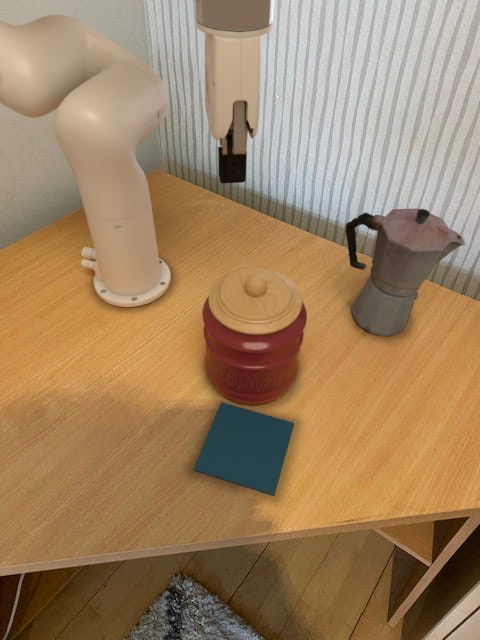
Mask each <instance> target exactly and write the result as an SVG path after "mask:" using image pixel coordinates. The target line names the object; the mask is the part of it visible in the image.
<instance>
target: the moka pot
mask: <svg viewBox="0 0 480 640" xmlns="http://www.w3.org/2000/svg"><path fill="white" fill-rule="evenodd" d="M361 225H363V226H366V227H367V228H368V229H369V230H372V231H375V232H376V231H377V234H376V240H375V244H374V250H373V256H372V259H371V264H372V266H371V268H370V274H369V276H368V278H366V281H365V283H364V284H363V285H362V286H363V287H362V288H361V290H360V292H359V294H358V295H357V296H356V299H355V300H354V302H353V304H352V306H351V308H350V310H351V314H352V317H353V319H354V320H355V322H356V324H358V325H359V326H360V327H361V328H363V329H364V330H365V331H367V332H369V333H371V334H373V335H376V336H382V337H393V336H396V335H398V334H399V335H400V333H402V332H404V331H405V329H406V326H407V325H408V322H409V320H410V317H411V315H412V312H413V311H412V310H413V308H414V304H415V301H416V300H417V299H418V298H419V293H418V291H419V289H420V288H421V286H422V285H423V283H424V282H425V281H426V279H428V277H429V275H430V274H431V272H432V271H433V269H434V268H435V267H436V265H437V264H438V263H439V262H441V261H442V260H443V259H445V258H446V257H447V256H449V255H450V254H451V253H452V252H454V251H455V250H456V249H458V248H459V247H461V246H466V241H465V239H464V237H463V236H462V235H461V234H460V233H459V232H457V231H455V230H453V229H451V228H449V226H448V225H447V223H446V222H445V220H444V219H443V218H441V217H439V216H437V215H434V214H432V213H430V211H429V210H427V209H425V208H393V209H392V210H390V211H389V212H388V213H387V214H386V215H385V216H384V215H381V214H374V215H373V214H371V213H368V212H363V213H362V214H359V215H358V216H357V217H354V218H353V219H352V220H351V221H349V222H347V223H346V224H345V237H346V242H347V243H346V244H347V250H348V257H349V266H350V267H351V268H353V269H358V270H362V271H364V270H365V269H367V267H368V265H367V264H366V263H364V262H359V261H358V256H357V239H356V238H357V235H356V234H357V233H356V229H357V227H358V226H361Z"/></svg>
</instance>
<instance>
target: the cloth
mask: <svg viewBox="0 0 480 640" xmlns="http://www.w3.org/2000/svg"><path fill="white" fill-rule="evenodd" d="M294 426H295V422H292V421H289V420H286V419H282V418H278V417H275V416H271V415H268V414H265V413H261V412H257V411H254V410H251V409H247V408H244V407H240V406H237V405H233V404H231V403H226V402H222V401H221V402H220V404H219V407H218V409H217V412H216V414H215V417H214V419H213V421H212V424H211V426H210V429H209V431H208V433H207V436H206V438H205V441H204V443H203V446H202V448H201V451H200V453H199V455H198V458H197V461H196V462H195V466H194V468H193V471H194V472H197V473H200V474H204V475H206V476H210V477H213V478H215V479H219V480H222V481H225V482H228V483H231V484H235V485H237V486H240V487H244V488H247V489H250V490H253V491H256V492H259V493H263V494H266V495H269V496H272V497H275V496H276V492H277V487H278V484H279V480H280V477H281V472H282V469H283V467H284V466H283V465H284V463H285V459H286V456H287V455H286V454H287V451H288V448H289V445H290V440H291V437H292V433H293V430H294Z"/></svg>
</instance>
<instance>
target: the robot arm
mask: <svg viewBox="0 0 480 640" xmlns="http://www.w3.org/2000/svg"><path fill="white" fill-rule="evenodd" d="M194 1H195V22H196V23H195V25H196V28H197V29H198V30H199V31H201V32H202V33H204V34H205V38H204V39H205V40H204V41H205V42H204V44H205V45H204V73H205V75H204V77H205V78H204V80H205V81H204V83H205V84H204V89H205V90H204V96H205V97H204V106H205V112H206V113H205V114H206V118H207V122H208V123H207V124H208V126H209V131H210V134H211V135H210V136H212V138H213V139H214V140H216V141H219V146H218V147H217V150H218V151H217V152H218V153H217V154H218V156H217V157H218V159H217V160H218V161H217V162H218V163H217V164H218V166H217V167H218V172H217V173H218V179H219V182H220V184H222V185H223V184H238V183H240V184H241V183H244V182H246V180H247V161H248V160H247V159H248V158H247V157H248V151H247V148H248V147H247V145H248V135H249V137H250V138H251V139H254V138H255V137H256V136H257V135H258V132H259V131H258V130H259V122H260V121H259V120H260V108H261V107H260V105H261V89H262V88H261V83H262V61H263V57H262V45H263V43H262V41H263V35H266V34H268V33H270V32H271V31H272V30H273V27H274V26H273V25H274V14H275V13H274V10H275V0H194ZM0 104H1V105H3V106H5V107H6V108H8V109H10V110H12V111H13V112H15V113H17V114H19V115H21V116H24V117H27V118H33V119H35V118H40V117H44V116H45V115H49V114H50V113H52V112H54V111H55V110H56V112H55V114H54V115H55V116H54V121H53V127H54V128H53V129H54V133H55V137H56V140H57V143H58V145H59V147H60V149H61V151H62V154H63V155H64V157H65V159H66V161H67V163H68V166H69V168H70V170H71V172H72V175H73V177H74V180H75V183H76V186H77V190H78V192H79V196H80V201H81V204H82V207H83V210H84V214H85V219H86V223H87V226H88V228H89V233H90V237H91V241H92V245H93V247H89V246H84V247H82V249H81V253H80V254H81V257H82V259H81V261H80V266H81V267H82V268H85V269H92V271H93V272H94V275H93V276H94V277H93V287H94V291H95V292H96V294H97V296H98V297H99V299H101V300H102V301H104V302H105V303H107V304H109V305H111V306H115V307H120V308H121V307H122V308H135V307H140V306H145V305H147V304H150V303H152V302H155V301H156V300H158V299H159V298H160V297H162V296H163V295H164V294H165V293H166V292H167V291H168V289H169V287H170V285H171V280H172V274H171V270H170V267H169V266H168V264H167V263H166V261H164V260H163V259H162V258H160V256H159V248H158V243H157V241H158V240H157V235H156V228H155V221H154V213H153V207H152V198H151V194H150V188H149V182H148V178H147V176H146V174H145V172H144V170H143V168H141V165H139V163H138V161H137V156H136V151H137V149H138V148H139V146H140V145H142V143H143V142H144V141H145V140H147V138H148V137H149V136H150V135H151V134H152V133H153V132H154V131H155V130H156V129H158V127H160V125H161V124H162V123H163V122H164V120H165V119H166V116H167V114H168V112H169V105H170V97H169V94H168V89H167V87H166V84H165V83H164V81H163V80H162V77H160V75H159V74H158V73H157V72H156V70H154V68H153V67H151V65H149V64H148V63H147V62H145V61H143V59H141V58H139V57H138V56H137V55H135V54H133V53H132V52H130V51H128V50H127V49H126V48H124V47H122V46H121V45H119V44H118V43H116V42H115V41H113V40H111V39H110V38H108V37H106V36H105V35H104V34H101V32H99V31H97V30H96V29H94V28H92V27H91V26H89V25H87V24H85V23H84V22H82V21H80V20H78V19H76V18H73V17H70V16H66V15H62V14H48V15H44V16H42V17H39V18H36V19H34V20H32V21H30V22H27V23H25V24H19V25H11V24H10V23H6V22H4V21H2V20H0Z"/></svg>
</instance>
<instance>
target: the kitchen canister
mask: <svg viewBox="0 0 480 640" xmlns="http://www.w3.org/2000/svg"><path fill="white" fill-rule="evenodd" d="M201 312H202V315H201V316H202V321H203V339H204V342H205V357H204V366H205V371H206V374H207V377H208V380H209V383H210V384H211V386H212V387H213V388H214V390H215V391H216V392H217V393H218V394H219V395H220V396H222V397H223V398H225V399H227V400H228V401H230V402H232V403H235V404H238V405H243V406H261V405H266V404H269V403H272V402H275V401H277V400H278V399H280V398H281V397H283V396H284V395H285V394H286V393H287V392H288V391H289V390H290V388H291V387H292V385H293V383H294V382H295V380H296V377H297V374H298V371H299V363H300V362H299V361H300V360H299V357H300V351H301V347H302V345H303V342H304V330H305V328H306V325H307V320H308V314H307V308H306V306H305V303H304V301H303V298H302V293H301V291H300V289H299V287H298V286H297V285H296V284H295V282H293V281H292V280H291V279H290V278H289V277H287V275H285V274H283V273H280V272H278V271H276V270H272V269H270V268H266V267H265V268H264V267H244V268H243V267H242V268H238V269H235V270H232V271H230V272H229V271H228V272H227V273H226V274H223V275H222V276H221V277H219V278H218V279H217V280H216V281H214V283H213V285H212V286H211V288H210V291H209V293H208V295H207V297H206V299H205V301H204V302H203V306H202V311H201Z"/></svg>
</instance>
